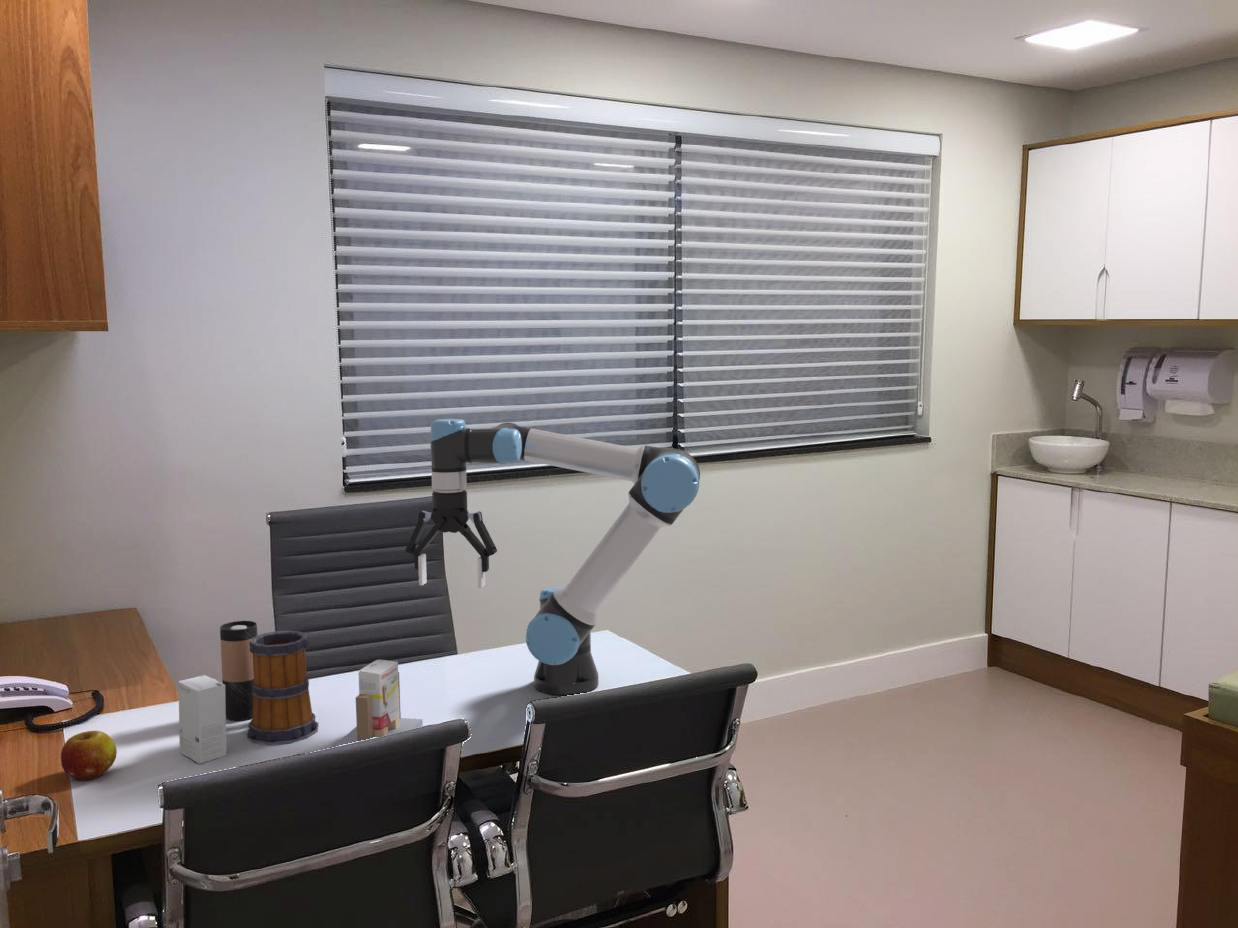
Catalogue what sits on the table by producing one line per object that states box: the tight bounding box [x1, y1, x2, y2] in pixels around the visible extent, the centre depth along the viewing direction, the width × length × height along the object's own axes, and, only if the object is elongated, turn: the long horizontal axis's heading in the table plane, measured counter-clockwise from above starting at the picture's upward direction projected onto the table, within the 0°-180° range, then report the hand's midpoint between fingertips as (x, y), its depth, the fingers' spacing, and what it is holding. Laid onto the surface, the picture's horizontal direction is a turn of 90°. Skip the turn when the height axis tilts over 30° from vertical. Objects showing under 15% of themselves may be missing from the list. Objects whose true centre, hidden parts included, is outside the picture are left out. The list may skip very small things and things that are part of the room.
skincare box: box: [177, 674, 227, 764], centre depth 199 cm, size 8×6×15 cm
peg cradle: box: [334, 671, 423, 747], centre depth 207 cm, size 12×16×12 cm
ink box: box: [358, 659, 399, 730], centre depth 206 cm, size 9×5×12 cm, turn 166°
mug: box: [245, 630, 319, 746], centre depth 213 cm, size 19×14×20 cm
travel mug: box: [219, 620, 258, 722], centre depth 220 cm, size 8×8×20 cm
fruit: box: [60, 730, 118, 781], centre depth 191 cm, size 10×9×8 cm
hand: (452, 585), depth 225 cm, fingers open, 13 cm apart
